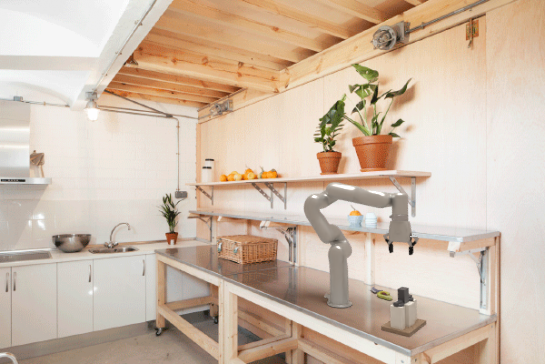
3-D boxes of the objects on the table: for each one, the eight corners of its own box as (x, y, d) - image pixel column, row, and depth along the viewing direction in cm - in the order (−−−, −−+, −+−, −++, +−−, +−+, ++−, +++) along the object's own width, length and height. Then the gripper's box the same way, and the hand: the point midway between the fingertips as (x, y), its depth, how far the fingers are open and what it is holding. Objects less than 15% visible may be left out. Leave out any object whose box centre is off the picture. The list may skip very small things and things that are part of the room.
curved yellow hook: (365, 289, 221) (383, 301, 196) (365, 284, 221) (383, 296, 196) (377, 288, 222) (397, 301, 197) (377, 284, 222) (397, 296, 197)
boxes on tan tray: (381, 329, 156) (380, 304, 157) (399, 317, 170) (399, 295, 171) (409, 337, 148) (408, 310, 149) (426, 323, 162) (425, 299, 163)
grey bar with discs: (390, 305, 155) (390, 291, 155) (405, 297, 167) (405, 283, 167) (401, 308, 152) (400, 293, 152) (415, 299, 164) (415, 285, 164)
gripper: (379, 218, 181) (380, 253, 181) (415, 219, 170) (415, 256, 169) (386, 217, 187) (387, 250, 186) (421, 218, 175) (421, 254, 175)
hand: (400, 253), depth 178 cm, fingers open, 9 cm apart
